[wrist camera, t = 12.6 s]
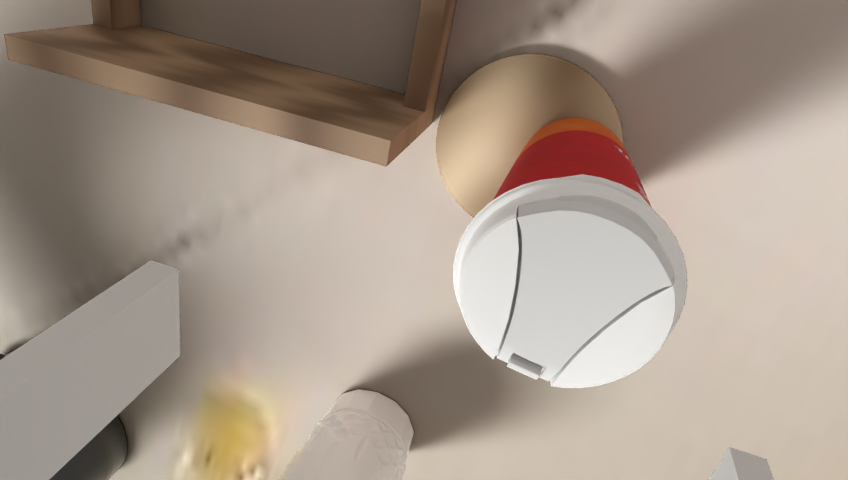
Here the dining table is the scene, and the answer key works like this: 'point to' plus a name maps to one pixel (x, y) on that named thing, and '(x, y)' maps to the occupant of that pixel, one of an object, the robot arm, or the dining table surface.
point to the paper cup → (570, 263)
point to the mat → (510, 120)
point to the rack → (248, 80)
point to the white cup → (355, 441)
